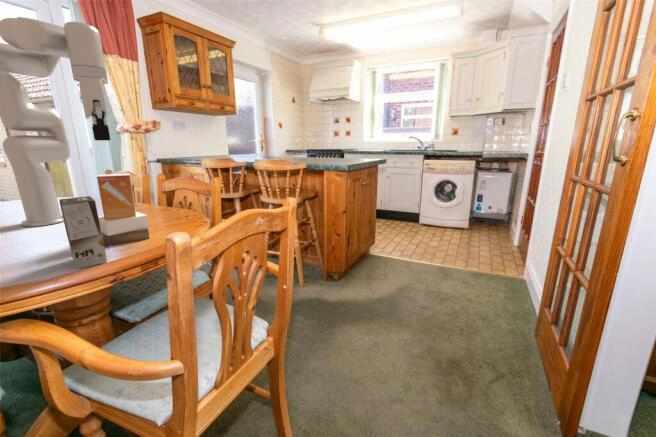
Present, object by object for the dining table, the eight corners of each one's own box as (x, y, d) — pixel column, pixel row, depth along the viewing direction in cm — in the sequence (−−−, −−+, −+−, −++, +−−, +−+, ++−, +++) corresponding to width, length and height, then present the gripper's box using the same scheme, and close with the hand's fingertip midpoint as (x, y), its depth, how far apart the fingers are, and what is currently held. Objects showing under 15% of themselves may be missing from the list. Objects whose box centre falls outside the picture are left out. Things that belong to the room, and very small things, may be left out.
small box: (104, 220, 87) (96, 176, 84) (105, 216, 92) (97, 174, 89) (136, 216, 92) (129, 174, 88) (135, 212, 97) (129, 172, 93)
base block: (100, 239, 95) (97, 227, 94) (143, 232, 102) (141, 221, 101) (103, 249, 86) (100, 236, 85) (150, 241, 94) (148, 229, 93)
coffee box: (108, 262, 75) (96, 200, 71) (75, 269, 71) (60, 204, 67) (102, 253, 81) (90, 195, 77) (72, 259, 77) (57, 198, 73)
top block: (96, 229, 92) (93, 216, 91) (135, 221, 101) (133, 210, 100) (108, 235, 86) (105, 222, 85) (149, 227, 94) (147, 215, 93)
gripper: (73, 78, 85) (85, 140, 89) (72, 68, 72) (86, 140, 76) (105, 82, 90) (115, 140, 94) (109, 72, 77) (121, 140, 81)
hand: (102, 140), depth 85 cm, fingers open, 9 cm apart
